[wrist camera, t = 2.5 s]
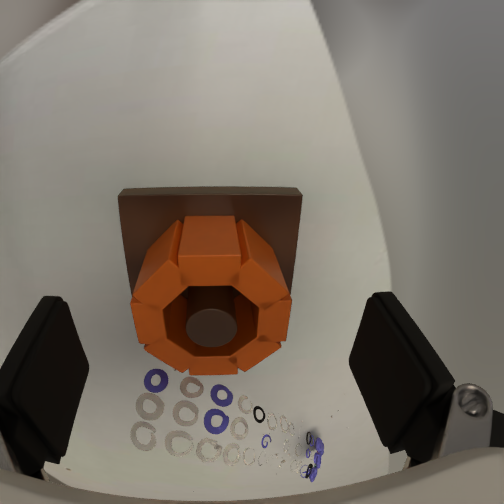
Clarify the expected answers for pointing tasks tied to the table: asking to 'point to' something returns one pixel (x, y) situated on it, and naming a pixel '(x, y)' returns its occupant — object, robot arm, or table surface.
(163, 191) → the rack
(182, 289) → the orange octagonal tube
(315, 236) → the table surface
